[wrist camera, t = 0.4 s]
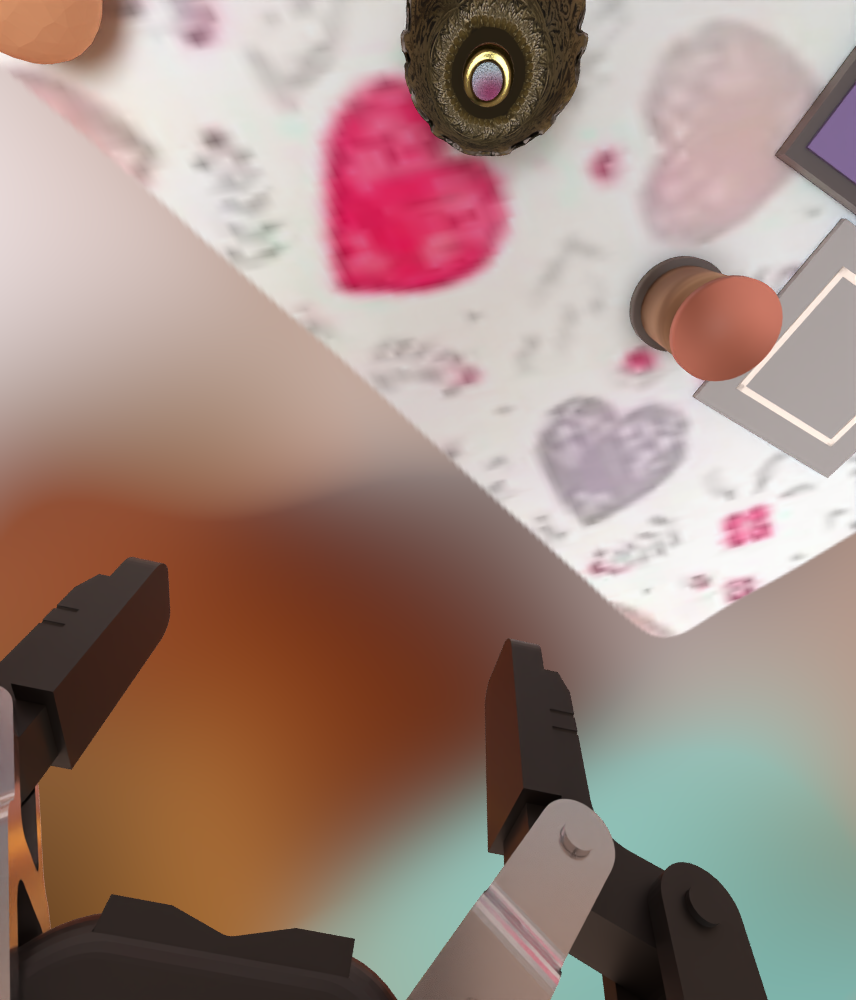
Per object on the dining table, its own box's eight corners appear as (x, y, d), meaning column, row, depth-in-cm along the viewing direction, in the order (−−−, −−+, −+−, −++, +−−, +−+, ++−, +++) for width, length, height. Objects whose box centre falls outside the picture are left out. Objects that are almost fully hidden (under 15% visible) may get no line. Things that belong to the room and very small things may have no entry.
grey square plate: (841, 218, 30) (847, 219, 30) (986, 324, 32) (993, 326, 32) (692, 396, 36) (695, 398, 35) (824, 475, 38) (828, 478, 37)
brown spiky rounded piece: (529, -49, 25) (551, -139, 19) (577, 119, 29) (612, 95, 22) (393, 42, 27) (367, -10, 21) (452, 189, 31) (447, 188, 24)
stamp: (669, 238, 31) (725, 250, 24) (740, 285, 32) (812, 309, 25) (611, 321, 34) (647, 353, 27) (678, 362, 35) (729, 403, 28)
